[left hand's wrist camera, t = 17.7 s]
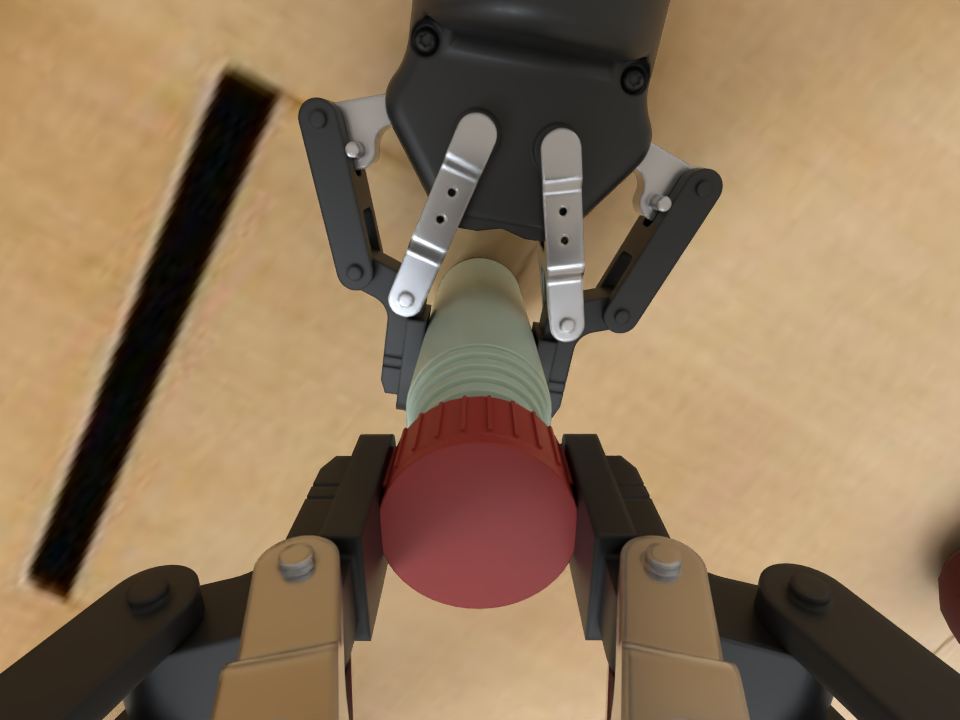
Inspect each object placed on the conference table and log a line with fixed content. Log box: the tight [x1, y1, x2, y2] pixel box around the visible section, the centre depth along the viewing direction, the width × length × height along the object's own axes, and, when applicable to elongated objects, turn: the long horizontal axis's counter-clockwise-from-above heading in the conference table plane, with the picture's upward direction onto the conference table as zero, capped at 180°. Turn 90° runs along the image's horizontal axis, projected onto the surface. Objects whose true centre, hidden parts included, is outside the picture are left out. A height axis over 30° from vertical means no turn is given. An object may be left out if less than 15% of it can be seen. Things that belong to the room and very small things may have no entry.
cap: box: [380, 395, 577, 609], centre depth 11 cm, size 4×4×2 cm
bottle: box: [406, 258, 552, 428], centre depth 19 cm, size 4×4×17 cm
